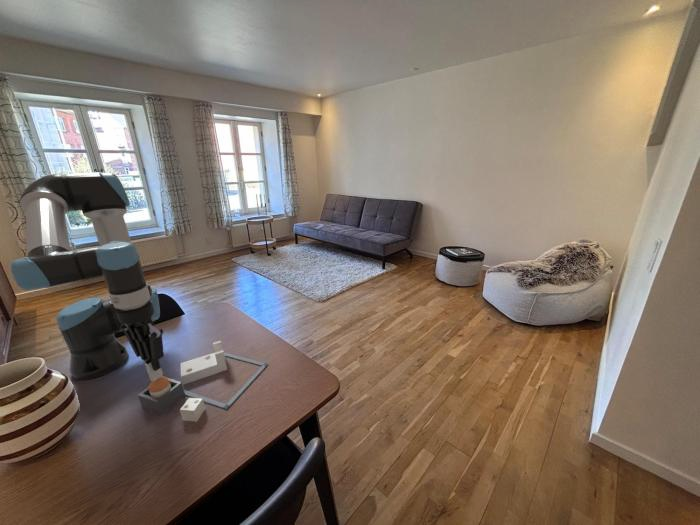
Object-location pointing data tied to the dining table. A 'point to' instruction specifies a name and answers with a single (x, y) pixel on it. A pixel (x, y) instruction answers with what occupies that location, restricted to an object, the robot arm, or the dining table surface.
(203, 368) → the bracket
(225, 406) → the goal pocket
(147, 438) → the dining table surface
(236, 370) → the dining table surface
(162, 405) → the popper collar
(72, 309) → the robot arm
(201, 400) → the die
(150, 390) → the orange and white capsule
